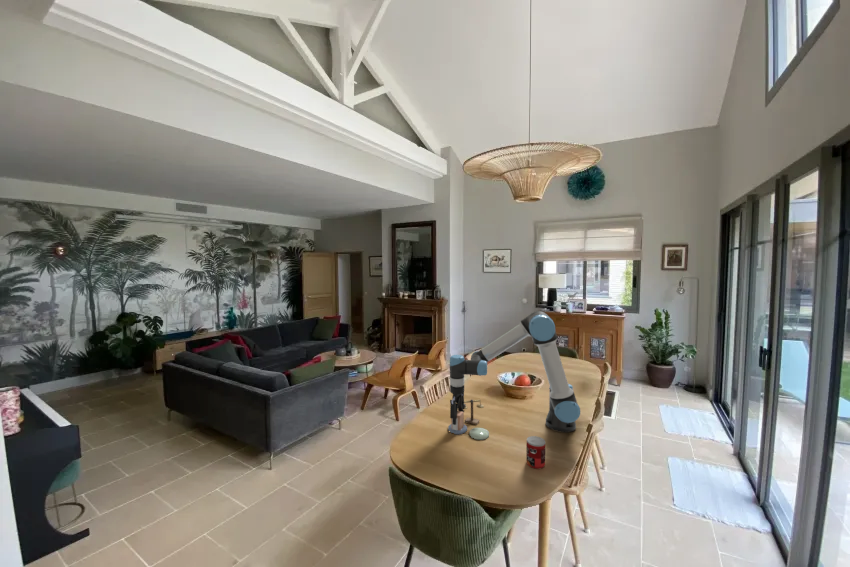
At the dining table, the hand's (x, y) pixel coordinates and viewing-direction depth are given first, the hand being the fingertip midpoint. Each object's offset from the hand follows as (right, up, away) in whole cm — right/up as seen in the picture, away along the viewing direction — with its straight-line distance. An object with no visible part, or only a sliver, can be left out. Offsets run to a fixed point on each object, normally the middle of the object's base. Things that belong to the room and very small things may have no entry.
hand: (457, 426), depth 188 cm
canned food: (+32, -4, -31) cm, 45 cm away
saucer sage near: (+11, -2, -5) cm, 12 cm away
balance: (+9, -1, +8) cm, 12 cm away
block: (0, 0, 0) cm, 0 cm away
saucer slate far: (0, -2, 0) cm, 2 cm away
